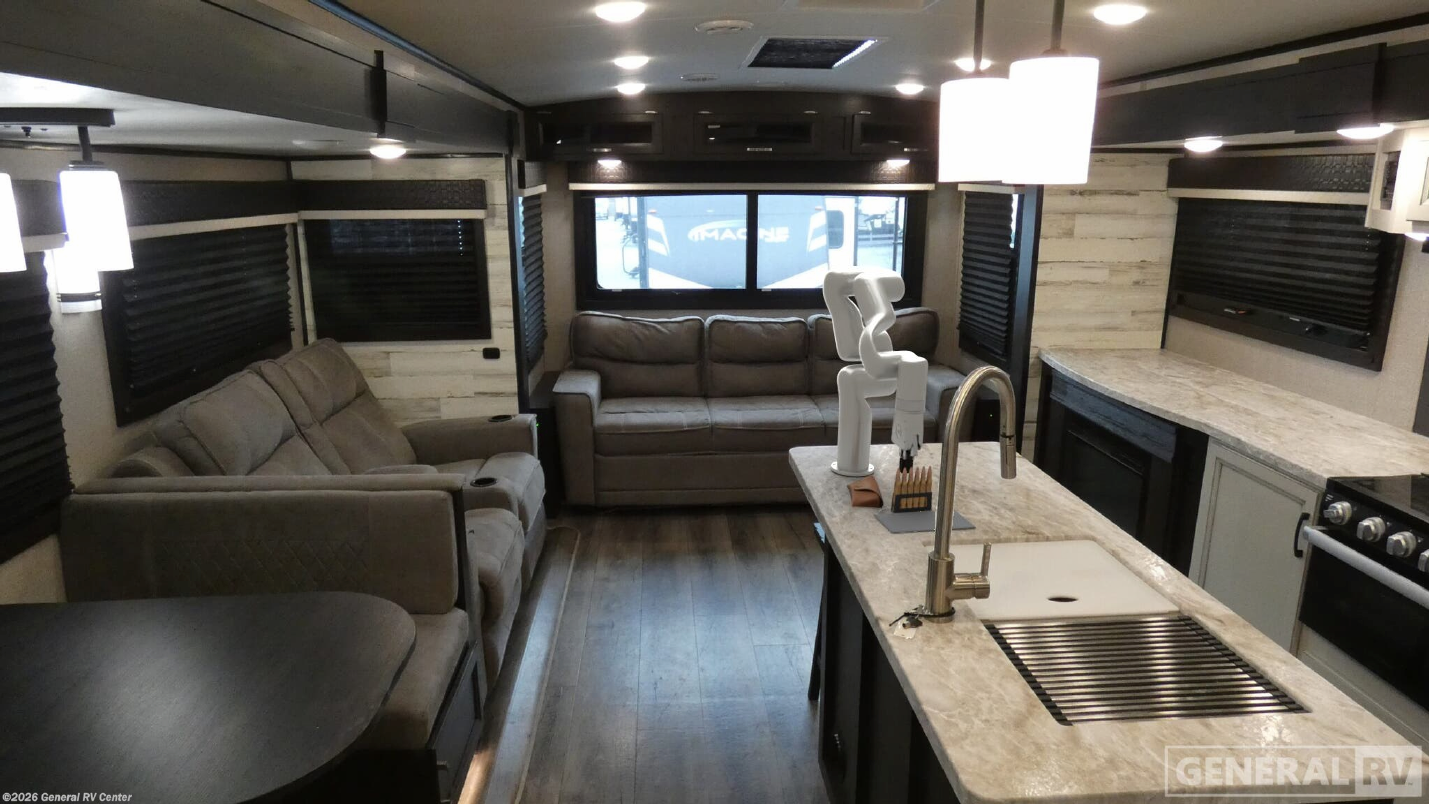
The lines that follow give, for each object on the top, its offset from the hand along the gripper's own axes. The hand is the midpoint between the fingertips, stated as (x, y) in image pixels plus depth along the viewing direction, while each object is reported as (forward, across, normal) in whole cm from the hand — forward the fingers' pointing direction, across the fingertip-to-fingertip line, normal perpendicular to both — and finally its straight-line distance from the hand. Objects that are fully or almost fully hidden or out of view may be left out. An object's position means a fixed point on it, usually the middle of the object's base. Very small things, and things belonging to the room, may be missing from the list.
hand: (905, 472), depth 235 cm
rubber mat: (+9, +13, 0) cm, 16 cm away
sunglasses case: (+9, -7, -8) cm, 14 cm away
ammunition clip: (+9, +5, 0) cm, 10 cm away
